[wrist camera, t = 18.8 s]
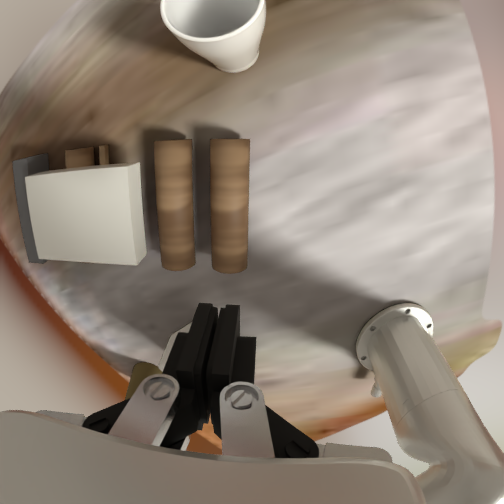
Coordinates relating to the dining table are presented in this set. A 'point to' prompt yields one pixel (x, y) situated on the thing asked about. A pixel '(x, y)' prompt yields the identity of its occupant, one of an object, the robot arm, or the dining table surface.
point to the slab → (88, 214)
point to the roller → (80, 159)
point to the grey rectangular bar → (21, 171)
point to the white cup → (218, 29)
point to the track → (181, 202)
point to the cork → (140, 376)
